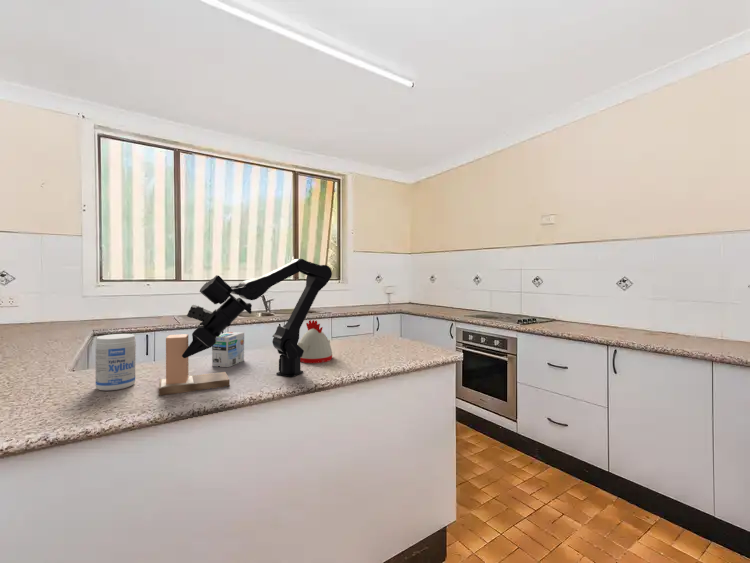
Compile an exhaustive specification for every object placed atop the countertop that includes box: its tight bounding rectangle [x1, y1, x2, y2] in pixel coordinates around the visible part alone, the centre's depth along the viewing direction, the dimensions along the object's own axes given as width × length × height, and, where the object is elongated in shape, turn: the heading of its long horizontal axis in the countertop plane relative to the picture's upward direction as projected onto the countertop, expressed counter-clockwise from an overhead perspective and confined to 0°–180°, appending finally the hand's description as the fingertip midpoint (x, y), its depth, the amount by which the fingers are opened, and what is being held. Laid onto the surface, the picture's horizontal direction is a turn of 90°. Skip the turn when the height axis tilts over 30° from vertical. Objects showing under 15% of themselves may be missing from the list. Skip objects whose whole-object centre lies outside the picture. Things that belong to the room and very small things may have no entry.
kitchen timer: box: [297, 319, 333, 364], centre depth 143 cm, size 14×14×15 cm
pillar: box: [165, 333, 190, 384], centre depth 106 cm, size 5×5×13 cm
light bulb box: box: [211, 331, 245, 368], centre depth 134 cm, size 11×7×11 cm, turn 168°
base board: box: [158, 371, 231, 396], centre depth 108 cm, size 18×9×2 cm, turn 119°
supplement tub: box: [95, 333, 137, 391], centre depth 107 cm, size 10×10×15 cm
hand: (185, 353), depth 106 cm, fingers open, 9 cm apart
